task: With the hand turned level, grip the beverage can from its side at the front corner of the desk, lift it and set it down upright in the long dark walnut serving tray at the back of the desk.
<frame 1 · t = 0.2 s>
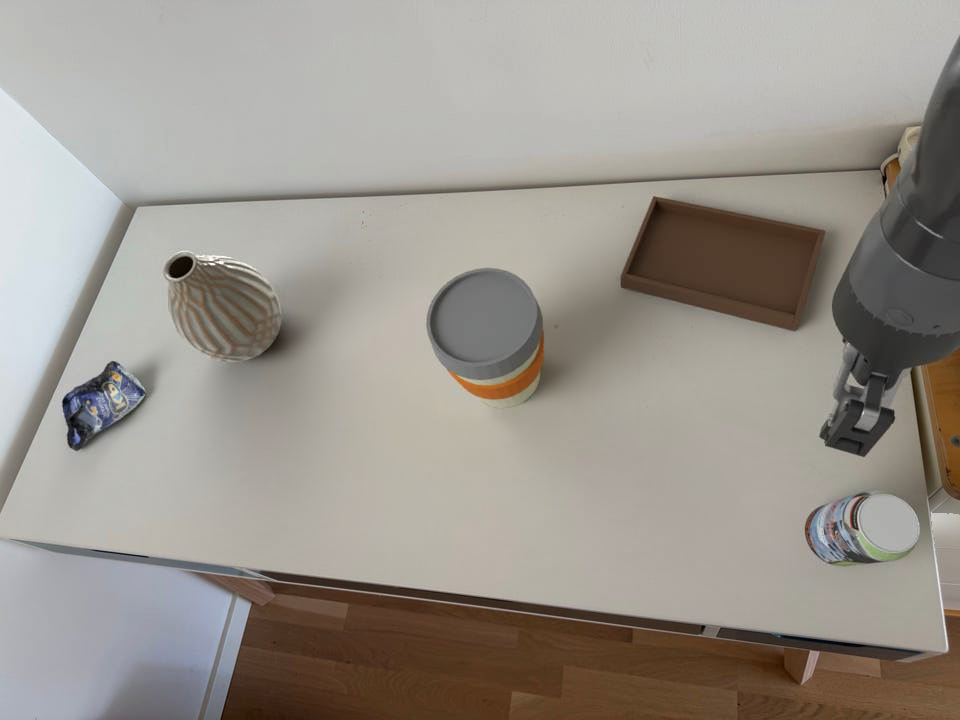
hand: (845, 389, 51), 22 cm above the table, tool pointing down, fingers open, 8 cm apart
serving tray: (718, 265, 83), on the table
snack package: (107, 413, 92), on the table
reusable coffee cup: (505, 375, 82), on the table
vase: (254, 335, 93), on the table
beverage can: (839, 542, 66), on the table
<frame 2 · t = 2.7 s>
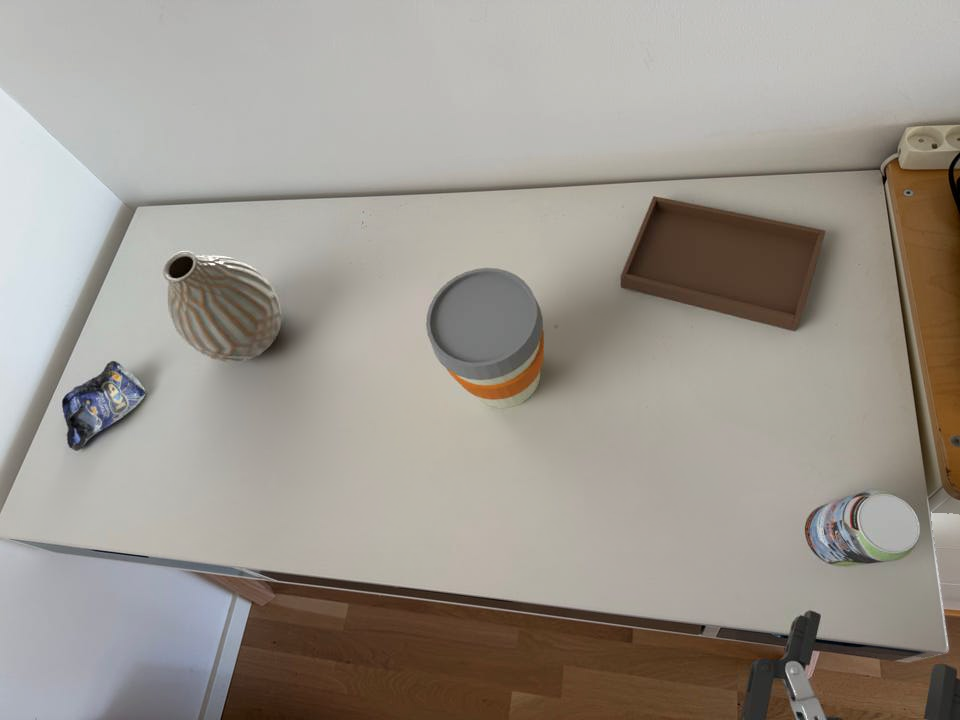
hand: (876, 638, 46), 18 cm above the table, tool horizontal, fingers open, 8 cm apart
nothing on the table moved.
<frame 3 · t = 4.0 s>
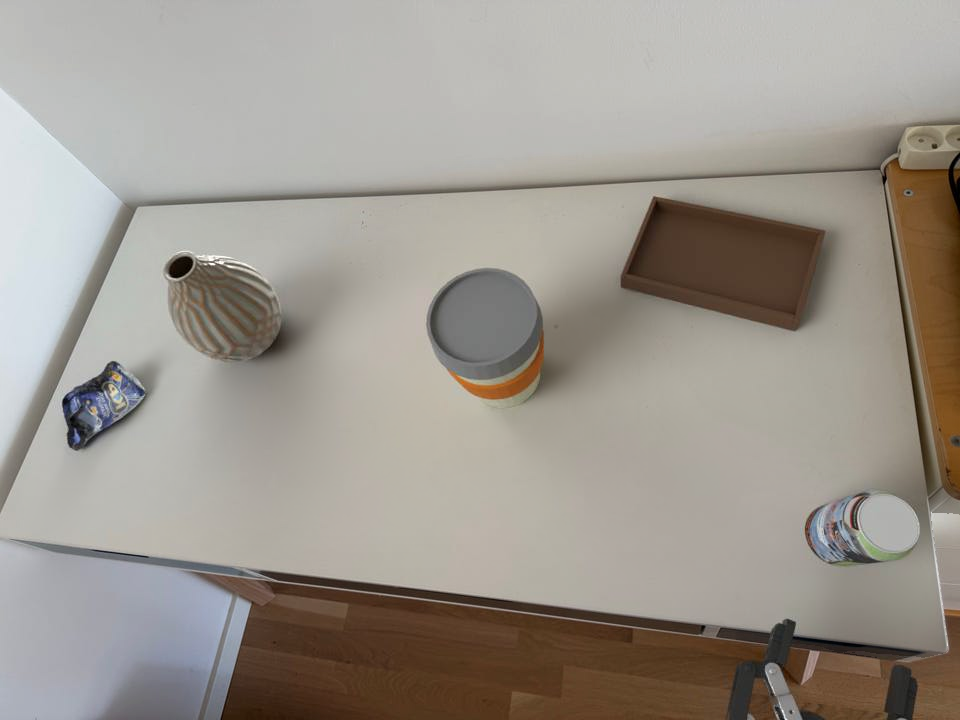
hand: (844, 642, 54), 10 cm above the table, tool horizontal, fingers open, 8 cm apart
nothing on the table moved.
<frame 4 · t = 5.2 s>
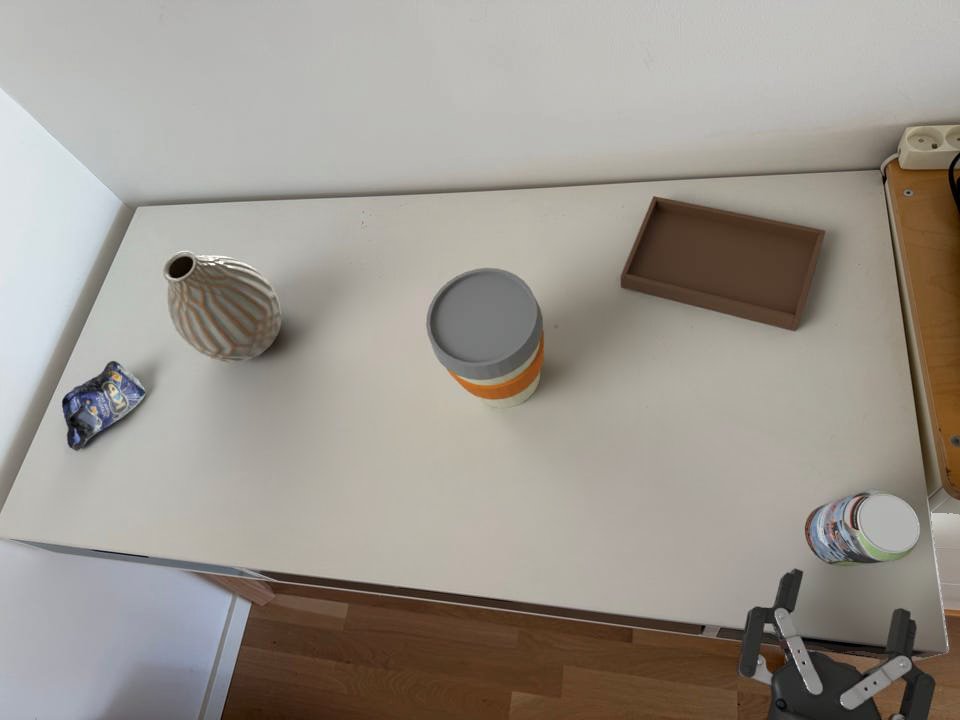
hand: (847, 589, 58), 7 cm above the table, tool horizontal, fingers open, 8 cm apart
nothing on the table moved.
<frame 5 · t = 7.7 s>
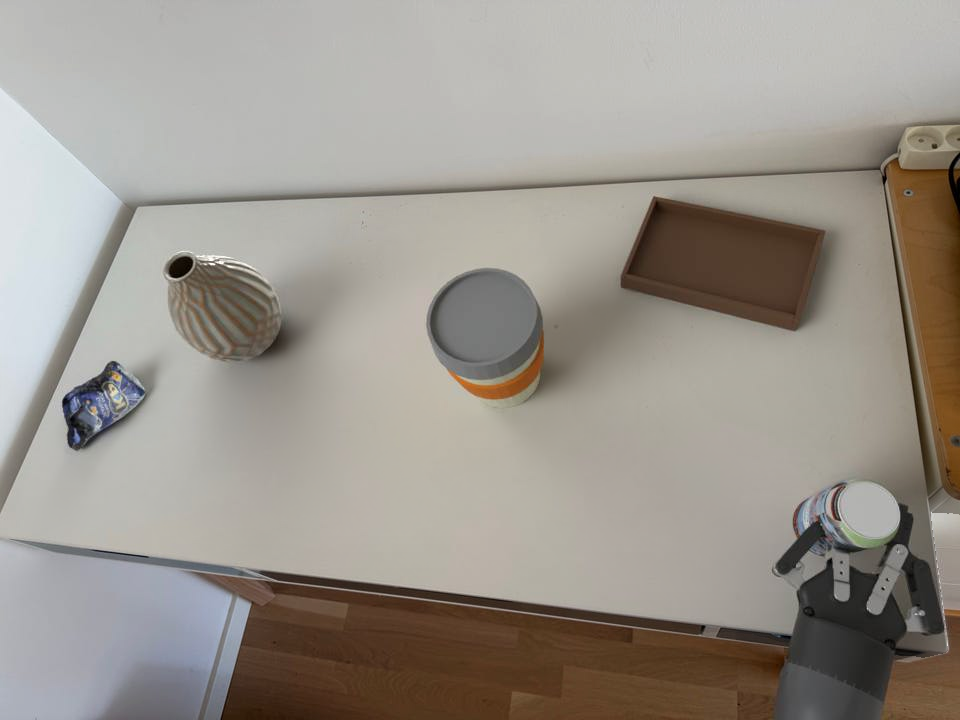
hand: (876, 498, 60), 7 cm above the table, tool horizontal, fingers closed on beverage can, 3 cm apart
beverage can: (828, 533, 66), on the table, touching gripper
everything else where it was.
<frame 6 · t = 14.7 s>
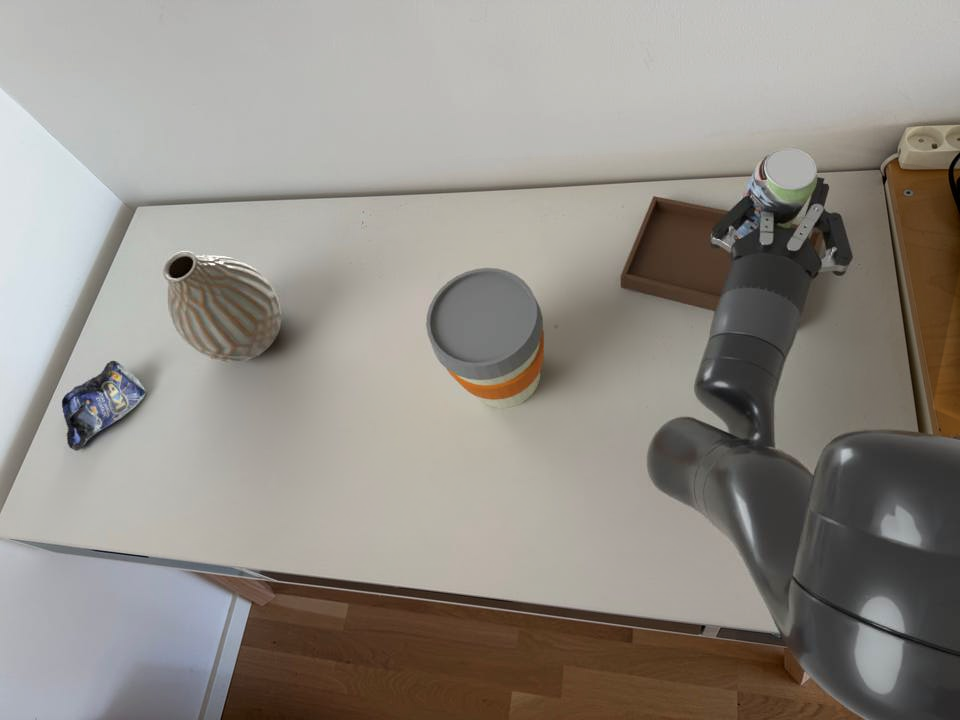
hand: (799, 180, 69), 15 cm above the table, tool horizontal, fingers closed on beverage can, 3 cm apart
beverage can: (760, 237, 75), point 7 cm above the table, touching gripper
everything else where it was.
when the fingers open (8 cm above the table, at t = 16.9 s): beverage can stays where it is, resting on serving tray.
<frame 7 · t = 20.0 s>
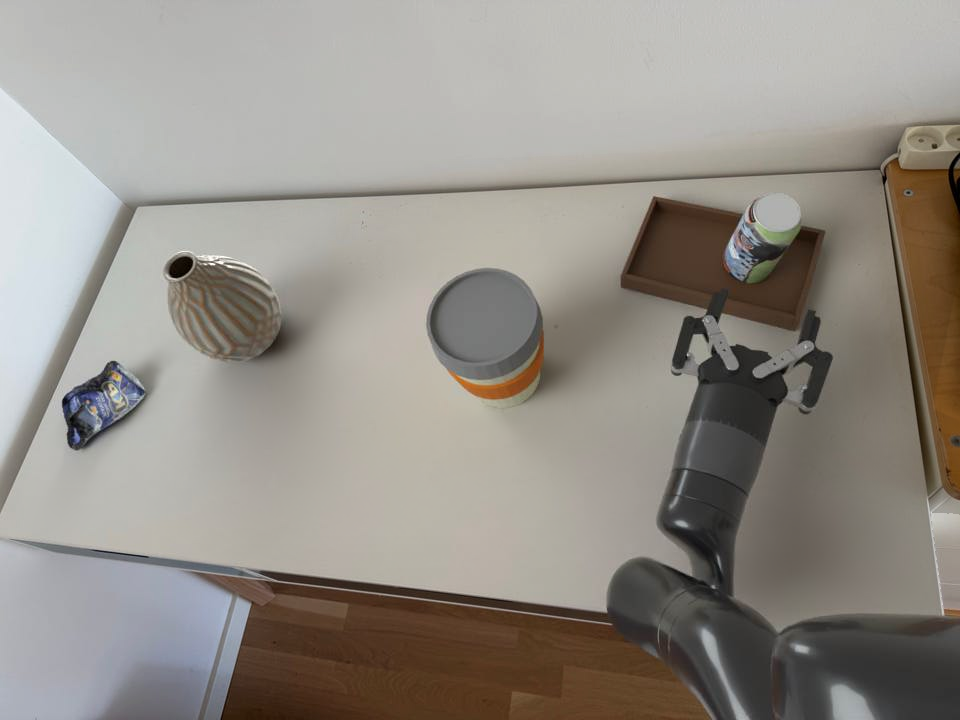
hand: (766, 302, 67), 11 cm above the table, tool horizontal, fingers open, 8 cm apart
beverage can: (751, 269, 81), resting on serving tray
everything else where it was.
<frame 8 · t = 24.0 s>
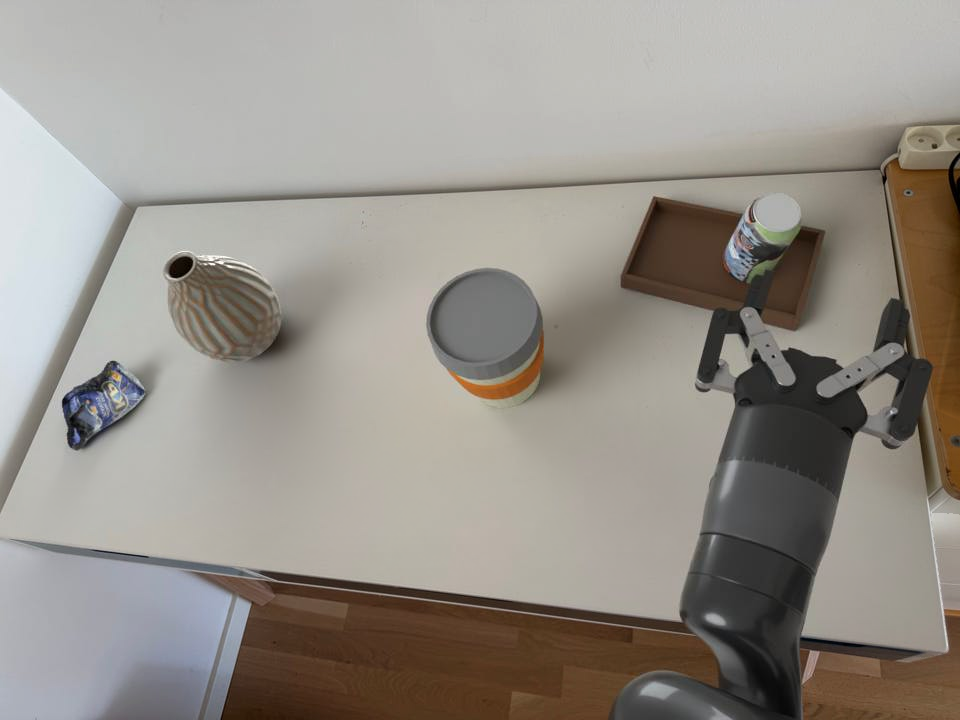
hand: (828, 289, 48), 28 cm above the table, tool horizontal, fingers open, 8 cm apart
nothing on the table moved.
at the end: beverage can inside the target area in the serving tray (3.9 cm from its centre), point 0.4 cm above the serving tray's base; beverage can tilted 0°; the gripper is holding nothing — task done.
